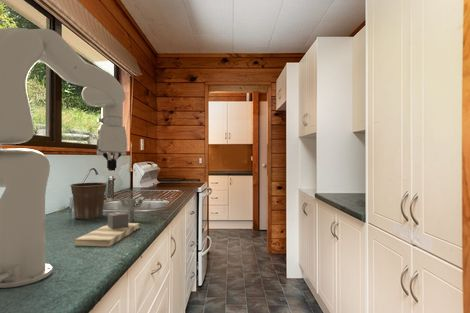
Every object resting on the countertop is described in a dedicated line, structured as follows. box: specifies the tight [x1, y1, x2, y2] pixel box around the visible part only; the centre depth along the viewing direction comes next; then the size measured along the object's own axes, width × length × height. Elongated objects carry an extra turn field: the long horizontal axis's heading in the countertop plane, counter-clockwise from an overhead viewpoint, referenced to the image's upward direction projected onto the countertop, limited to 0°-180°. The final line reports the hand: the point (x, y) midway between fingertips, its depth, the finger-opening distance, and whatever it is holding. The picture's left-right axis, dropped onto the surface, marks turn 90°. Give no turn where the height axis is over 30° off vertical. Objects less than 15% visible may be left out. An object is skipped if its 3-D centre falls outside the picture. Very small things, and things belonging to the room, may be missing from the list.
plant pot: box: [69, 182, 108, 221], centre depth 141 cm, size 16×16×16 cm
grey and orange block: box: [107, 211, 129, 229], centre depth 114 cm, size 6×6×5 cm
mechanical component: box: [120, 197, 143, 222], centre depth 133 cm, size 3×10×10 cm, turn 78°
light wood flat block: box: [74, 222, 140, 247], centre depth 108 cm, size 24×12×6 cm, turn 175°
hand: (111, 170), depth 111 cm, fingers closed
